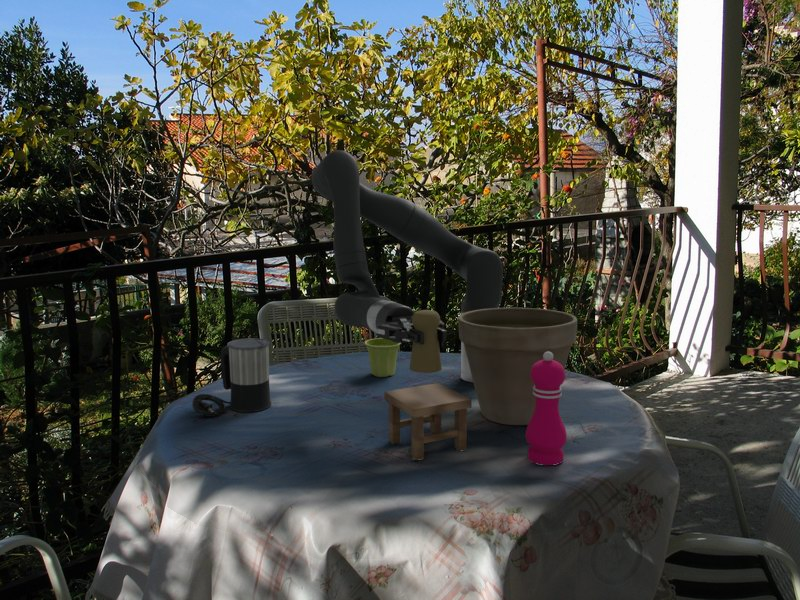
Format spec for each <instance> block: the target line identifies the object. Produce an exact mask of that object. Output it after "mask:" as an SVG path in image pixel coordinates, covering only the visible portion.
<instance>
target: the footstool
mask: <svg viewBox="0 0 800 600" xmlns="http://www.w3.org/2000/svg"><path fill="white" fill-rule="evenodd" d="M383 394H384V395H383V396H384V397H383V398H384V401H386V402H388V441H389V442H388V443H390V442H391V443H390V444H391V445H397V444H401V429H402V428H408V427H410V428H411V429H410V430H411V459H412V458H414V459H415V460H418V459H422V458H425V457H424V456H425V455H424V453H425V449H424V447H425V446H424V444H428V443H431V442H433V443H434V442H436V441H437V442H438V441H443V440H448V439H452V438H454V449H455V448H456V449H457V450H459V451H460V452H462V451H461V450H465V449H467V446H468V444H467V443H468V442H467V440H468V439H467V438H468V436H467V434H468V433H467V432H468V430H467V426H468V425H467V424H468V420H467V419H468V417H467V415H468V414H467V412H468V411H467V410H468V409H469V408H472V398H469V397H468V396H466V395H463V394H462V393H461V392H460V393H459V392H458V391H456V390H454V389H452V388H450V387H447V386H445V385H444V384H441V383H439V382H436V383H429V384H424V385H416V386H411V387H404V388H399V389H393V390H392V389H391V390H387V391H384V392H383ZM401 411H402V412H404V413H405V414H407V415H409V416H410V417H409V418H404V419H401ZM448 412H454V428H450V429H447V430H446V429H445V430H442V414H443V413H448ZM428 423H429V426H430V427H429V429H430V430H429V433H427V434H424V428H425V427H424V424H428ZM430 433H431V434H430ZM396 443H397V444H396ZM456 449H455V450H456ZM457 450H456V451H457ZM459 451H458V452H459ZM465 451H466V450H465ZM414 459H413V460H414ZM415 460H414V461H415Z"/></svg>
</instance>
